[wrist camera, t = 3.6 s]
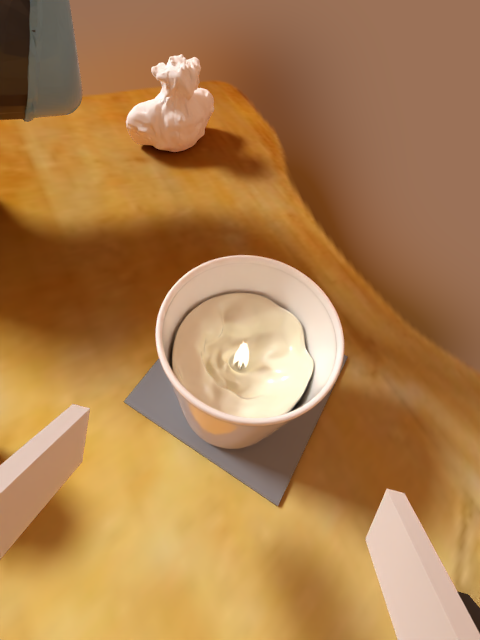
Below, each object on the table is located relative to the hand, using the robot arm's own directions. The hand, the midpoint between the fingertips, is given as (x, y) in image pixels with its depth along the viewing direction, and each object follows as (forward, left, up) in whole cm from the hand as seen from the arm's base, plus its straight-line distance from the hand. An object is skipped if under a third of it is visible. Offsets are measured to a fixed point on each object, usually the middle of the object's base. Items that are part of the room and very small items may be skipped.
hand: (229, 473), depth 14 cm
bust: (-27, +31, -12) cm, 43 cm away
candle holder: (-3, +6, -11) cm, 13 cm away
